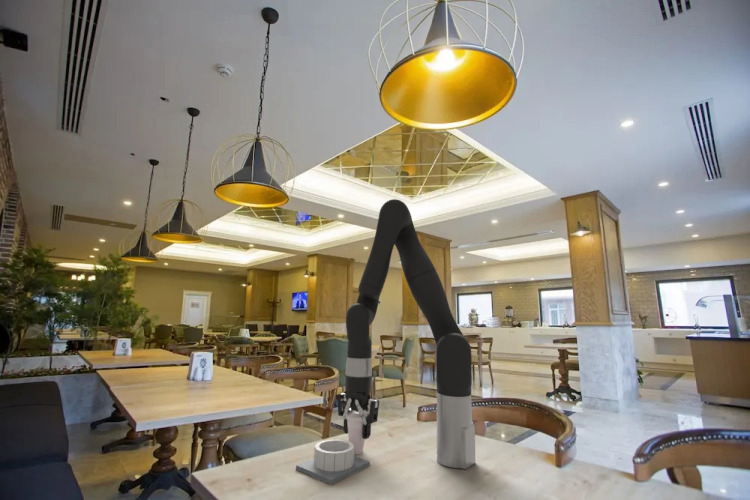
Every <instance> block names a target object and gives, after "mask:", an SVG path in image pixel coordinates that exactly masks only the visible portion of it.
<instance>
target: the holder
mask: <svg viewBox="0 0 750 500" xmlns="http://www.w3.org/2000/svg"><path fill="white" fill-rule="evenodd" d="M313 453H314V454H313V455H314V456H313V458H311V459H309V460H306V461H303V462H300V463H298V464H296V465H295V470H296V471H298V472H301V473H302V474H305V475H308V476H310V477H312V478H315V479H318V480H319V481H322V482H325V483H327V484H329V485H334V484H335V483H337V482H340V481H341V480H344V479H346V478H347V477H350V476H352V475H353V474H356V473H358V472H360V471H362V470H364V469H366V468H369V467H370V466H371V461H370V460H368V459H364V458H361V457H359V456H356V455H355V454H354V445H353V444H352V443H351V442H349V440H348V441H347V440H344V439H326V440H322V441H320V442H319V441H318V442H317V443H316V444H315V445H314V452H313Z"/></svg>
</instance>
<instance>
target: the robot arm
mask: <svg viewBox="0 0 750 500" xmlns="http://www.w3.org/2000/svg"><path fill="white" fill-rule="evenodd" d="M376 224H377V225H376V231H375V234H374V238H373V243H372V247H371V250H370V251H369V256H368V259H367V262H366V263H365V268H364V270H363V273H362V275H361V279H360V281H359V285H358V289H357V290H358V297H357V301H356V303H354V304H352V305H351V306H349V307H348V310H347V311H346V315H345V327H346V328H345V329H346V337H347V354H346V357H347V358H346V363H345V383H344V390H345V391H346V393H345V392H341V393H338V394H337V412H338V413H337V414H338V416H341V417H342V419H343V427H342V428H343V433H344V434H345V435H346V434H347V435H348V424H347V419H346V415H347V414H349V413H351V412H359V415H360V416H361V417H362V420H363V423H364V424H363V439H365V440H367V439H369V438H370V437H371V435H372V434H371V433H372V430H371V429H372V424H374V423H376V422H378V416H379V408H380V400H379V399H372V398H371V394H370V393H371V390H372V379H373V378H372V377H373V376H372V375H373V374H372V373H373V372H372V371H373V369H372V368H373V365H372V364H373V363H372V350H373V349H372V345H373V344H372V340H371V338H370V325H371V324H373V322H374V320H375V317H376V315H377V310H378V306H379V300H380V297H381V294H382V291H383V288H384V285H385V282H386V280H387V277H388V274H389V269H390V264H391V259H392V253H393V250H394V247H395V248H396V250H397V252H398V253H397V254H398V255H399V261H400V263H401V267H402V271H403V275H404V278H405V281H406V282H407V285H408V288H409V290H410V293H411V295H412V297H413V299H414V300H415V302H416V304H417V307H419V309H420V311H421V313H422V314H423V316H424V317H425V319H426V320H427V323H428V325H429V328H430V329H431V333H432V337H433V339H434V342H435V346H436V349H435V350H436V351H435V352H436V356H435V357H436V359H435V360H436V361H435V363H436V365H435V366H436V377H435V378H436V462H438V463H439V464H440V465H442V466H444V467H448V468H452V469H453V468H455V469H463V470H467V469H469V468H470V467H471V466H473V465H474V464H475V463H476V426H475V424H474V423H473V422H472V417H473V416H472V384H473V383H472V382H473V378H472V374H473V372H472V367H473V365H472V363H473V362H472V360H473V359H472V347H471V345H470V342H469V341H468V340H467V338H466V337H465V336H464V334H463V332H462V331H461V329H460V327H459V324H458V323H457V322H456V320H455V318H454V315H453V314H452V311H451V309H450V304H449V301H448V298H447V295H446V292H445V291H446V290H445V289H444V286H443V283H442V281H441V279H440V276H439V274H438V271H437V270H436V267H435V265H434V263H433V261H432V260H431V258H430V256H429V255H428V253H427V252H426V250H425V248H424V246H423V245H422V244H421V242H420V239H419V237H418V235H417V232H416V228H415V226H414V225H415V224H414V223H413V217H412V214H411V212H410V210H409V207H408V206H407V204H406V203H405V202H403V201H402V200H400V199H397V198H392V199H389V200H387V201H386V202H384V203H383V205H381V207H380V209H379V212H378V220H377V223H376ZM366 416H367V418H366Z"/></svg>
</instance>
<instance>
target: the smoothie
mask: <svg viewBox="0 0 750 500" xmlns="http://www.w3.org/2000/svg"><path fill="white" fill-rule="evenodd" d="M366 418H367V416H366ZM346 419H347V424H348V434H347V435H348V442H351V443H352V444H353V445H354V455H359V454H363V453H364V446H365V440H366V439H363V424H364V423H363V420H362V417H361V416H360V415H359V412H357V411H354V412H351V413H349V414H347V415H346Z"/></svg>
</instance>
